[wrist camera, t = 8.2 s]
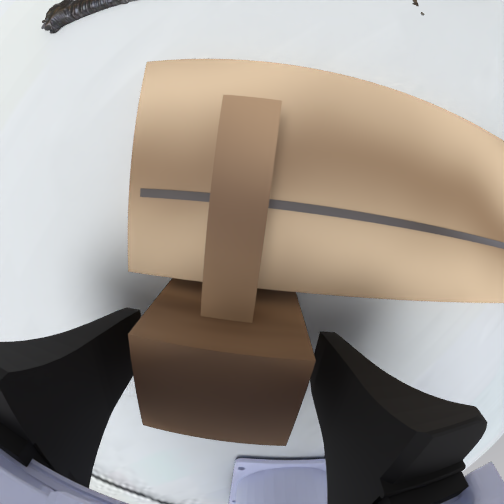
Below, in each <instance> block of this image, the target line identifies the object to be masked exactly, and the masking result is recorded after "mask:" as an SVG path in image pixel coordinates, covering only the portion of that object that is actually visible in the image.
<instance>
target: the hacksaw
mask: <svg viewBox="0 0 504 504" xmlns="http://www.w3.org/2000/svg"><path fill="white" fill-rule="evenodd" d="M129 1H135V0H64V1H62V2H61V3H58V4H55V5H54V6H53V7H51V8H50V9H49V11H48V12H47V14H46V18H45V20H43V21H42V23H44V22H45V23H44V24H43V26H42V29H43V28H44V29H45V30H50V33H54V32H56V31H58V30H59V29H60V28H61V27H62V26H64V25H66V24H68V23H70V22H72V21H74V20H77V19H79V18H81V17H84V16H86V15H89V14H92V13H95V12H97V11H100V10H103V9H106V8H109V7H113V6H116V5H119V4H126V3H128V2H129ZM413 2H414V3H413V4H414V5H416V6H418V3H417V0H413ZM421 14H422V15H424V13H422V12H421Z"/></svg>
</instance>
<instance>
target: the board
mask: <svg viewBox="0 0 504 504" xmlns="http://www.w3.org/2000/svg"><path fill="white" fill-rule="evenodd" d="M223 95H236V96H247V97H257V98H266V99H273V100H281V101H282V105H281V113H280V121H279V129H278V137H277V145H276V153H275V161H274V169H273V176H272V184H271V192H270V199H269V207H268V214H267V222H266V229H265V236H264V244H263V251H262V258H261V265H260V272H259V280H258V287H257V288H260V289H270V290H280V291H290V292H301V293H312V294H324V295H336V296H349V297H363V298H379V299H395V300H414V301H437V302H469V303H504V141H503V140H501V139H500V138H498V137H497V136H495V135H493V134H491V133H490V132H488V131H486V130H485V129H483V128H481V127H479V126H477V125H475V124H474V123H472V122H470V121H468V120H466V119H464V118H462V117H460V116H458V115H456V114H454V113H452V112H449V111H447V110H445V109H443V108H441V107H438V106H436V105H434V104H431V103H429V102H427V101H424V100H422V99H419V98H416V97H414V96H411V95H408V94H406V93H403V92H400V91H397V90H394V89H391V88H388V87H385V86H382V85H379V84H375V83H372V82H369V81H365V80H361V79H358V78H354V77H350V76H346V75H342V74H337V73H333V72H328V71H323V70H318V69H313V68H307V67H301V66H295V65H288V64H280V63H272V62H262V61H250V60H233V59H180V60H163V61H152V62H147V64H146V68H145V73H144V78H143V83H142V88H141V93H140V99H139V105H138V111H137V118H136V125H135V133H134V141H133V150H132V160H131V171H130V185H129V205H128V272H135V273H141V274H148V275H155V276H162V277H169V278H177V279H184V280H192V281H200V282H203V269H204V255H205V243H206V232H207V221H208V210H209V201H210V191H211V182H212V173H213V165H214V157H215V149H216V141H217V134H218V126H219V119H220V112H221V106H222V99H223Z"/></svg>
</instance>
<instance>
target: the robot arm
mask: <svg viewBox="0 0 504 504" xmlns="http://www.w3.org/2000/svg"><path fill="white" fill-rule="evenodd" d="M140 318H141V313H140V310H137V309H131V308H124V309H121V310H119V311H116V312H114V313H111V314H109V315H107V316H104V317H102V318H100V319H97V320H95V321H93V322H90V323H88V324H85V325H83V326H80V327H77V328H75V329H72V330H69V331H66V332H63V333H60V334H56V335H52V336H48V337H44V338H38V339H32V340H26V341H15V342H0V504H128V503H125V502H122V501H119V500H116V499H114V498H111V497H108V496H106V495H103V494H101V493H98V492H96V491H94V490H91V489H89V484H90V479H91V474H92V469H93V466H94V462H95V458H96V455H97V451H98V448H99V445H100V442H101V439H102V436H103V433H104V430H105V428H106V425H107V423H108V420H109V418H110V415H111V413H112V411H113V409H114V407H115V405H116V404H117V402H118V400H119V399H120V397H121V395H122V393H123V392H124V390H125V388H126V387H127V385H128V383H129V382H130V380H131V378H132V376H133V369H132V362H131V355H130V347H129V338H128V333H129V332H130V331H131V330H132V328H133V327H134V326H135V324H136V323H137V322H138V321H139V319H140ZM314 356H315V360H316V361H315V365H314V368H313V371H312V374H311V377H310V383H311V392H312V396H313V400H314V404H315V408H316V412H317V416H318V420H319V424H320V428H321V432H322V437H323V442H324V450H325V459H312V460H266V459H249V458H238V459H236V460H235V464H234V471H233V478H232V484H231V491H230V498H229V504H504V482H503V480H502V478H501V476H500V475H499V473H498V471H497V469H496V468H495V466H494V464H493V463H492V462H489V463H487V464H485V465H483V466H482V467H480V468H478V469H476V470H474V471H472V472H470V473H469V474H468V475H467V476H465V477H464V476H463V473H462V472H461V471H463V470H464V469H465V466H466V465H465V464H464V462H463V459H464V458H465V457H466V456H467V454H468V453H469V452H470V451H471V450H472V449H473V448H474V446H475V445H476V444H477V443H478V442H479V440H480V439H481V437H482V436H483V434H484V432H485V430H486V426H487V422H486V420H485V418H484V417H483V416H482V414H481V413H480V411H479V410H478V409H477V408H476V407H475V406H470V405H465V404H460V403H455V402H451V401H447V400H444V399H441V398H437V397H434V396H432V395H429V394H426V393H424V392H422V391H419V390H417V389H415V388H413V387H411V386H409V385H407V384H405V383H403V382H401V381H399V380H398V379H396V378H394V377H392V376H391V375H389V374H388V373H386V372H385V371H383V370H382V369H380V368H379V367H377V366H376V365H375V364H373V363H372V362H371V361H369V360H368V359H367V358H366V357H364V356H363V355H362V354H361V353H359V352H358V351H357V350H356V349H355V348H353V347H352V346H351V345H350V344H349V343H348V342H346V341H345V340H344V339H343V338H342V337H340V336H339V335H338V334H336V333H335V332H320V334H319V338H318V342H317V346H316V349H315V353H314Z"/></svg>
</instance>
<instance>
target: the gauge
mask: <svg viewBox="0 0 504 504" xmlns="http://www.w3.org/2000/svg"><path fill="white" fill-rule="evenodd" d="M281 105H282V101H281V100H273V99H266V98H257V97H247V96H236V95H223V99H222V106H221V112H220V119H219V126H218V134H217V141H216V149H215V157H214V165H213V173H212V182H211V191H210V201H209V210H208V221H207V232H206V243H205V255H204V269H203V282H200V281H192V280H184V279H177V278H172V279H171V281H170V282H169V283H168V284H167V286H166V287H165V288H164V289H163V290H162V292H161V293H160V294H159V295H158V297H157V298H156V299H155V300H154V302H153V303H152V304H151V305H150V307H149V308H148V309H147V310H146V312H145V313H144V314H143V315H142V317H141V318H140V319H139V321H138V322H137V323H136V324H135V326H134V327H133V328H132V330H131V331H130V332H129V333H128V338H129V347H130V355H131V362H132V369H133V376H134V382H135V388H136V393H137V399H138V404H139V409H140V414H141V418H142V423H143V425H145V426H149V427H153V428H157V429H161V430H165V431H169V432H174V433H179V434H184V435H189V436H194V437H200V438H206V439H212V440H219V441H227V442H236V443H246V444H258V445H276V446H286V444H287V442H288V439H289V437H290V434H291V432H292V429H293V426H294V424H295V421H296V418H297V415H298V413H299V410H300V407H301V404H302V401H303V398H304V396H305V393H306V390H307V387H308V384H309V381H310V377H311V374H312V371H313V368H314V365H315V361H316V360H315V356H314V352H313V349H312V345H311V342H310V339H309V335H308V332H307V328H306V325H305V321H304V318H303V315H302V311H301V308H300V305H299V301H298V298H297V295H296V292H290V291H280V290H270V289H260V288H257V287H258V280H259V272H260V265H261V258H262V251H263V244H264V236H265V229H266V222H267V214H268V207H269V199H270V192H271V184H272V176H273V169H274V161H275V153H276V145H277V137H278V129H279V121H280V113H281Z"/></svg>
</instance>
